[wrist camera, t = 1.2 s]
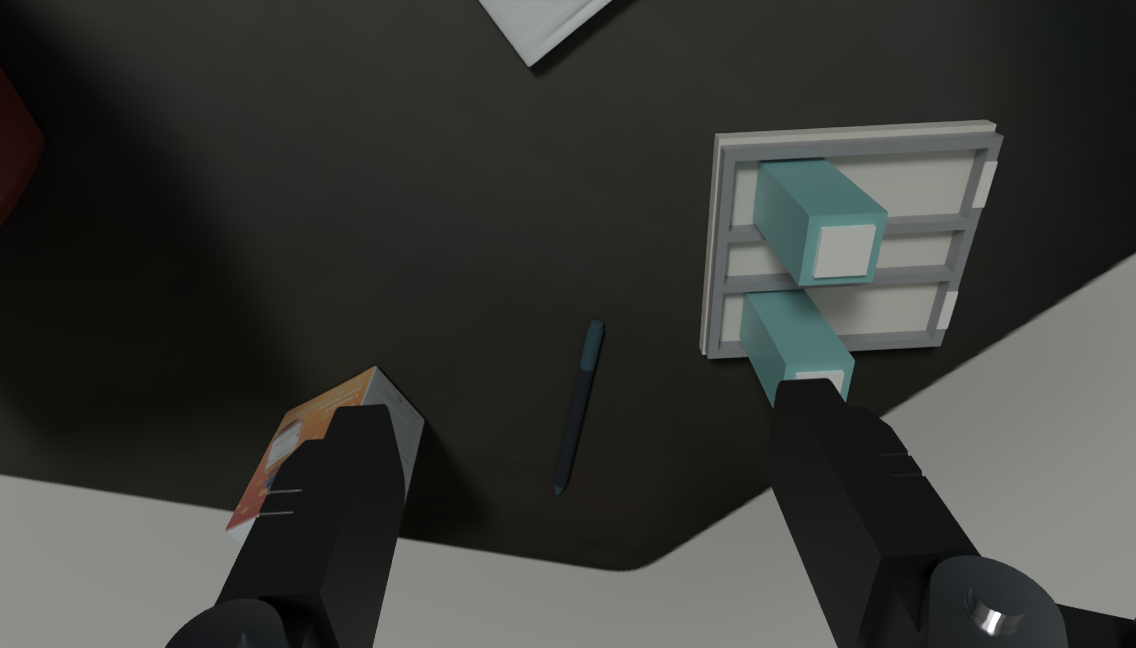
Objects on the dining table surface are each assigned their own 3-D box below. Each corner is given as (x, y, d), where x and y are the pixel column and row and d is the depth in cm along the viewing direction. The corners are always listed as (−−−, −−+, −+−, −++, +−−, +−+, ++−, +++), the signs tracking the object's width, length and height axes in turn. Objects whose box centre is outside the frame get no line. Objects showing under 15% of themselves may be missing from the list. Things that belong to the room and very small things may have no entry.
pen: (549, 489, 51) (550, 501, 50) (588, 315, 43) (589, 325, 42) (563, 490, 51) (564, 502, 50) (605, 318, 43) (606, 327, 42)
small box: (377, 362, 44) (335, 477, 35) (427, 419, 46) (400, 539, 37) (282, 411, 45) (219, 533, 36) (336, 463, 48) (289, 588, 39)
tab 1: (752, 220, 38) (800, 288, 31) (758, 160, 36) (812, 218, 29) (813, 216, 38) (875, 284, 31) (822, 156, 36) (891, 214, 29)
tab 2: (739, 337, 42) (779, 421, 35) (744, 289, 40) (788, 368, 33) (793, 334, 42) (845, 418, 35) (801, 286, 40) (857, 363, 33)
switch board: (699, 346, 44) (706, 364, 42) (715, 133, 36) (724, 145, 35) (925, 333, 44) (941, 351, 42) (985, 119, 37) (1008, 130, 35)
